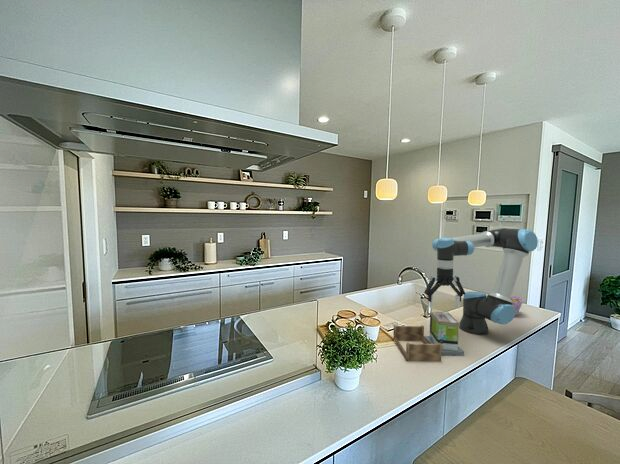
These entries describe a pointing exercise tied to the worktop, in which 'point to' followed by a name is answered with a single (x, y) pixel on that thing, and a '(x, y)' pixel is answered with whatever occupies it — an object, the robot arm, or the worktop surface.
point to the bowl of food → (516, 303)
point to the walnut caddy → (416, 350)
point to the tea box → (444, 330)
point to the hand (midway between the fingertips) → (444, 307)
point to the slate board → (446, 352)
